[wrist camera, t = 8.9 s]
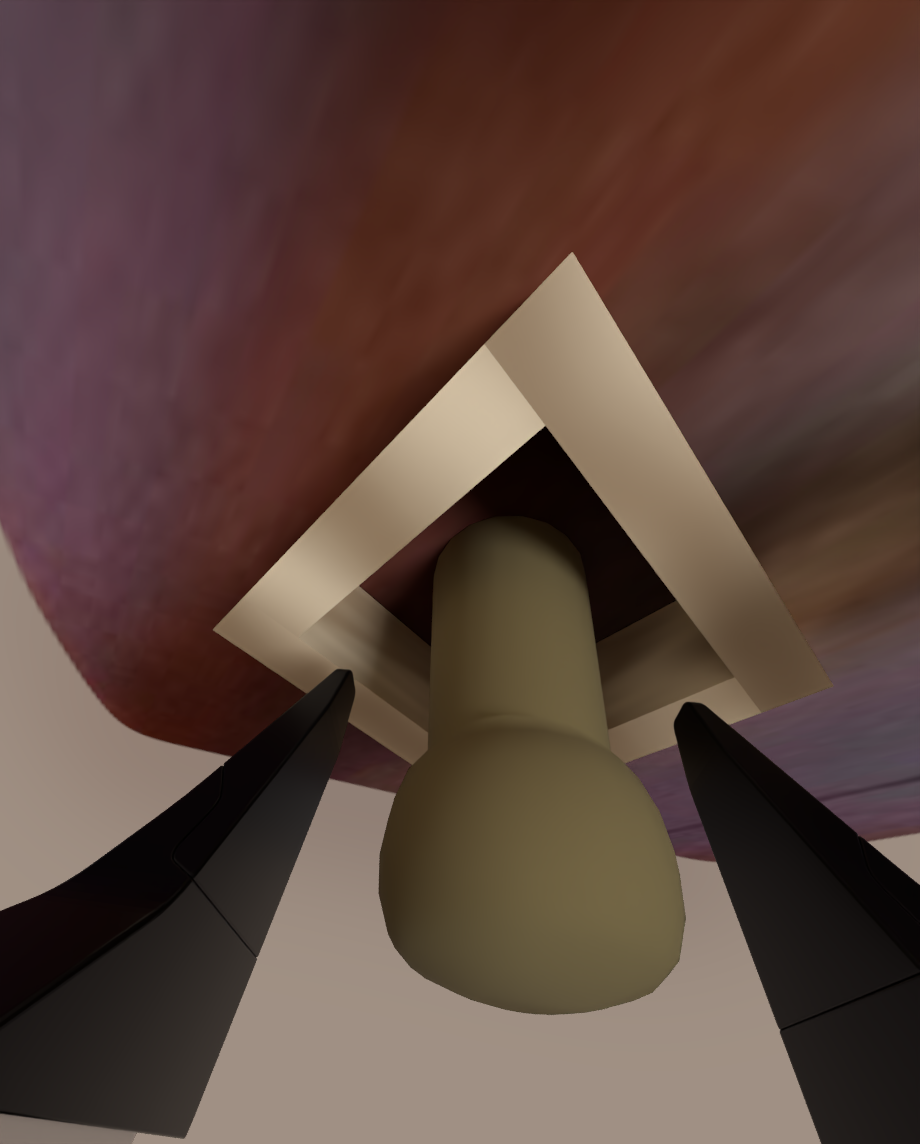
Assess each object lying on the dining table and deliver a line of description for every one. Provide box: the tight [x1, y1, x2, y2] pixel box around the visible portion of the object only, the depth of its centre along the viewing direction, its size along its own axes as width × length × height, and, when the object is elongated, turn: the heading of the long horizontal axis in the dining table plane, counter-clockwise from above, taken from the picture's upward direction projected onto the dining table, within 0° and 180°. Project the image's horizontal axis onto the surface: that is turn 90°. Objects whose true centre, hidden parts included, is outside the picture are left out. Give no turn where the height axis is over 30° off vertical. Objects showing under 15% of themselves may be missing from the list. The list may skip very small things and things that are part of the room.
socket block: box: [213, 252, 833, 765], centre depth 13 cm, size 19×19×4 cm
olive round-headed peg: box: [379, 516, 686, 1015], centre depth 10 cm, size 6×6×11 cm
